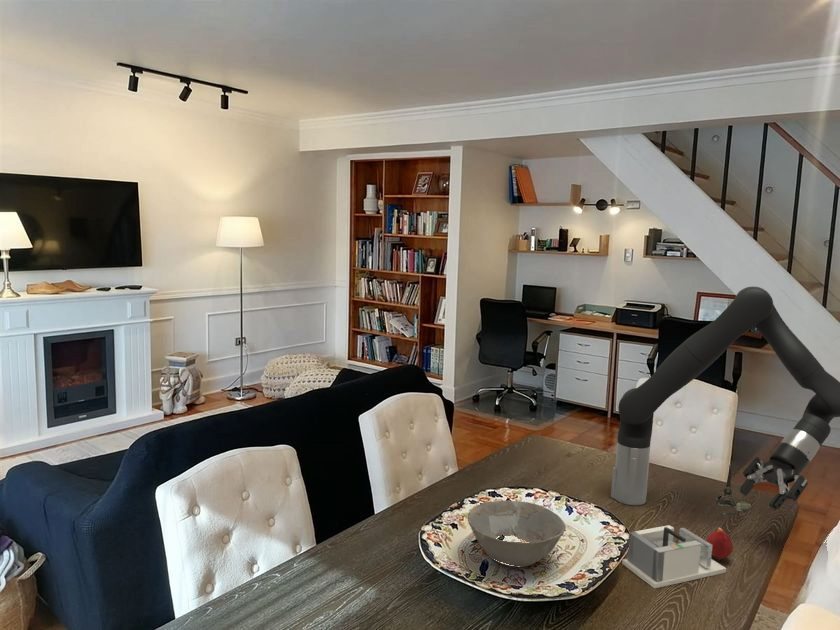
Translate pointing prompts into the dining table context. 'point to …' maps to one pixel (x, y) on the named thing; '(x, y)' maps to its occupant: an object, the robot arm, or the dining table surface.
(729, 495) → the eiffel tower figurine
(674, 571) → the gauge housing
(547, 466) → the dining table surface
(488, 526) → the ceramic bowl
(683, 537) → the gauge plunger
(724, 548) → the red pomegranate
